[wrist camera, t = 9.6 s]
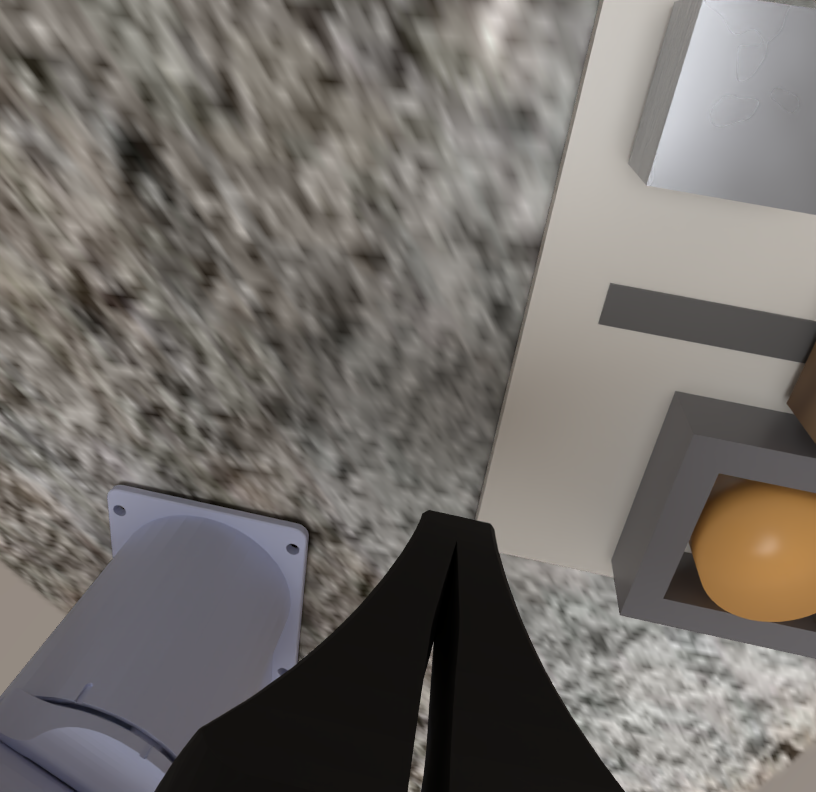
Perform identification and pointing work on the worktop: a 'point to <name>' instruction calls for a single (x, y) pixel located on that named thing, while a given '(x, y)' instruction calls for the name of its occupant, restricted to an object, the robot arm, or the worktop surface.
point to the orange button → (757, 549)
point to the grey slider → (733, 105)
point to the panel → (650, 359)
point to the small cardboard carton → (806, 396)
